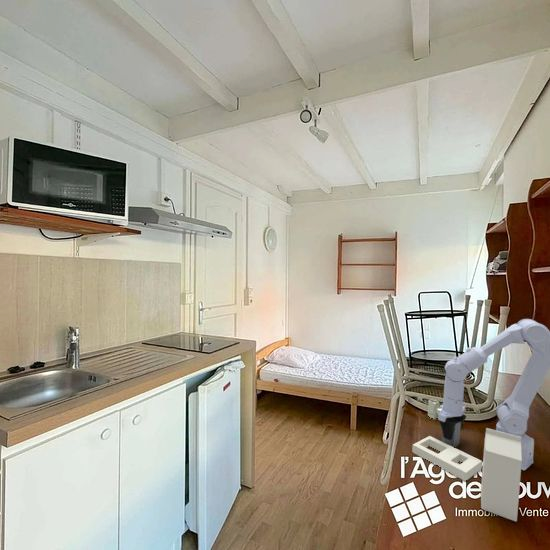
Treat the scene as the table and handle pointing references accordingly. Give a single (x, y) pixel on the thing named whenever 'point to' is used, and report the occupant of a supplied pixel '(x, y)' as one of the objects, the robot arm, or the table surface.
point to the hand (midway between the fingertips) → (450, 436)
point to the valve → (433, 409)
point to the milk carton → (501, 474)
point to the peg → (453, 435)
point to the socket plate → (448, 457)
